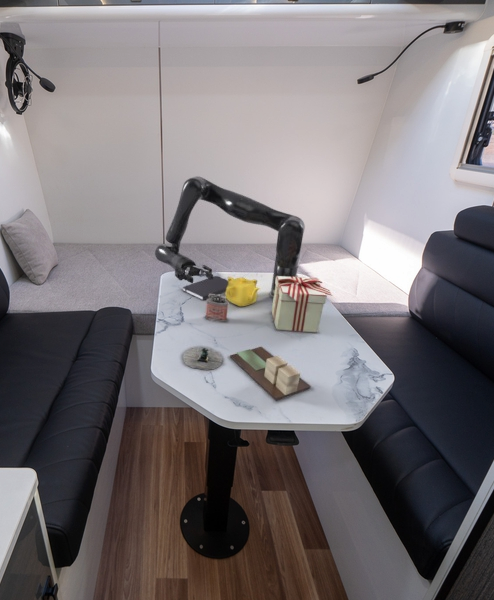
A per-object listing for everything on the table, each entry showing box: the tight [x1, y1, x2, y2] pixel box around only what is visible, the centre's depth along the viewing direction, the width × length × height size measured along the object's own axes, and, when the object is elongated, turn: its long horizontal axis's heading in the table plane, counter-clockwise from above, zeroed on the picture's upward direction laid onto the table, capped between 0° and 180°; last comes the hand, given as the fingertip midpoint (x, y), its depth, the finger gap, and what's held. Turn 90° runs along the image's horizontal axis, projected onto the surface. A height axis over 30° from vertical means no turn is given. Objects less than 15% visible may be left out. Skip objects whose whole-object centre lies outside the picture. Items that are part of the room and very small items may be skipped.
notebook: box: [182, 275, 228, 301], centre depth 162 cm, size 13×2×21 cm
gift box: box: [271, 276, 333, 334], centre depth 132 cm, size 17×18×17 cm
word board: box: [229, 346, 312, 401], centre depth 108 cm, size 12×22×7 cm, turn 26°
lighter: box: [204, 293, 229, 323], centre depth 136 cm, size 8×3×10 cm, turn 71°
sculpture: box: [182, 346, 224, 371], centre depth 115 cm, size 12×9×8 cm
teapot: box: [224, 276, 261, 307], centre depth 149 cm, size 14×13×10 cm
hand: (202, 279), depth 142 cm, fingers open, 8 cm apart
